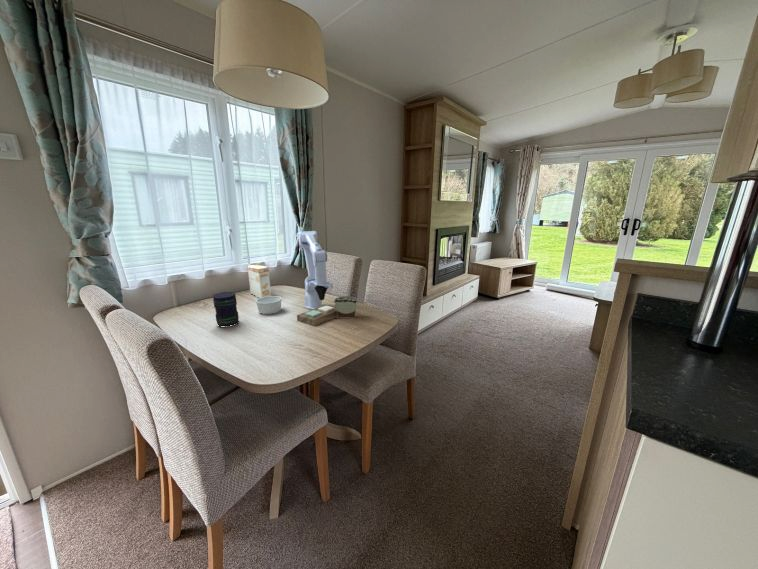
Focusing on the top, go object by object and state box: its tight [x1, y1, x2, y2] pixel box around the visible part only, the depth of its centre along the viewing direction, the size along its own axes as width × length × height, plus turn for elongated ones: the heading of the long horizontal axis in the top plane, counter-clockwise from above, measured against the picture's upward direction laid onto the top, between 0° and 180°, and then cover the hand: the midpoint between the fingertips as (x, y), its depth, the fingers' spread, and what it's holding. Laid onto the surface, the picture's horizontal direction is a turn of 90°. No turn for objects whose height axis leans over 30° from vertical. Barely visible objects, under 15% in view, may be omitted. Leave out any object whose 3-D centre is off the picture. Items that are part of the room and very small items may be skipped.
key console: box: [296, 304, 337, 327], centre depth 152 cm, size 12×20×3 cm, turn 145°
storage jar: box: [212, 291, 240, 326], centre depth 142 cm, size 10×10×15 cm
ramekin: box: [255, 295, 283, 315], centre depth 161 cm, size 13×13×7 cm
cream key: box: [318, 305, 335, 312], centre depth 155 cm, size 6×6×2 cm
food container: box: [333, 295, 358, 319], centre depth 153 cm, size 12×6×10 cm, turn 84°
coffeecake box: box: [247, 264, 272, 299], centre depth 188 cm, size 15×7×20 cm, turn 48°
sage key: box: [305, 309, 322, 318], centre depth 148 cm, size 6×6×2 cm
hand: (321, 299), depth 153 cm, fingers closed
